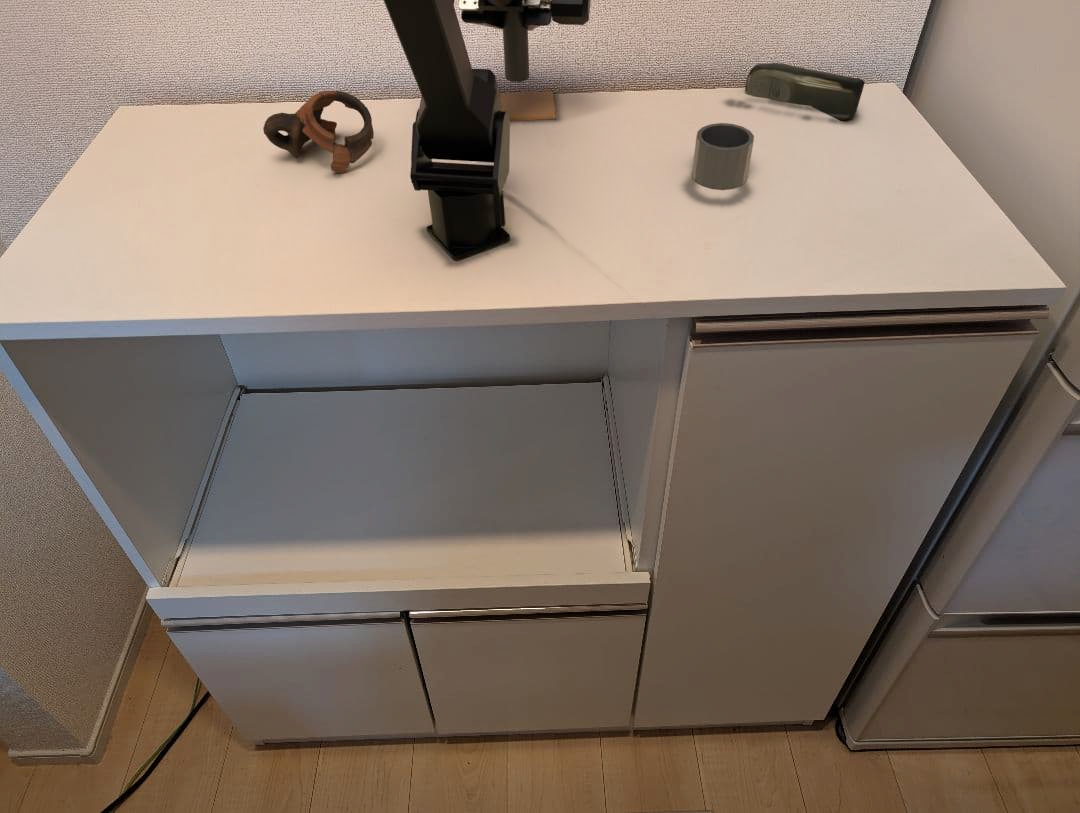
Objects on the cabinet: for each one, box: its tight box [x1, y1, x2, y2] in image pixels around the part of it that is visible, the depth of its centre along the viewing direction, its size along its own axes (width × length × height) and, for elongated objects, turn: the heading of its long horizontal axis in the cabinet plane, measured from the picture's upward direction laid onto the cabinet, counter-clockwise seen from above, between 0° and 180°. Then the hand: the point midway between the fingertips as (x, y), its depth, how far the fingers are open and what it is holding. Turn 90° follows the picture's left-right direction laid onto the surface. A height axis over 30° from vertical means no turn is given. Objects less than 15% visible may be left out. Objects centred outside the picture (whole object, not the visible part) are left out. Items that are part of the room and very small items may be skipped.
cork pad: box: [500, 91, 557, 122], centre depth 101 cm, size 9×7×1 cm
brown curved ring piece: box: [262, 90, 375, 174], centre depth 91 cm, size 12×10×8 cm
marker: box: [502, 6, 530, 83], centre depth 93 cm, size 3×3×15 cm
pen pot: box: [691, 122, 755, 191], centre depth 85 cm, size 6×6×6 cm
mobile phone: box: [744, 62, 865, 121], centre depth 97 cm, size 5×3×15 cm
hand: (517, 26), depth 96 cm, fingers closed on marker, 3 cm apart
